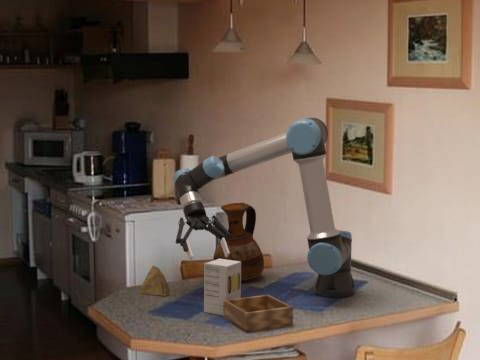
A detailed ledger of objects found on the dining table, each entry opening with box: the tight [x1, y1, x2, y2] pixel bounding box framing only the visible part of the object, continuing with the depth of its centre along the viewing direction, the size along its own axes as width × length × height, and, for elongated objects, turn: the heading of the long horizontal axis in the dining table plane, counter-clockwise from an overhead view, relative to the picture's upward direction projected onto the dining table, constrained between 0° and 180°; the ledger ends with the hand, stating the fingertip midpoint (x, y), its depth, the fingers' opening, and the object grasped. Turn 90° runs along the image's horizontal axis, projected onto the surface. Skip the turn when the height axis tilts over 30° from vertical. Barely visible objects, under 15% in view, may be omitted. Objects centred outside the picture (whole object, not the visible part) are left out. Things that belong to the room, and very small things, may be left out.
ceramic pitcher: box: [212, 202, 265, 282], centre depth 316 cm, size 20×20×30 cm
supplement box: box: [203, 259, 242, 316], centre depth 272 cm, size 10×9×17 cm
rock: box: [139, 265, 170, 297], centre depth 293 cm, size 11×9×10 cm
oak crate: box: [222, 294, 294, 333], centre depth 261 cm, size 17×17×6 cm
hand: (209, 257), depth 280 cm, fingers open, 13 cm apart
